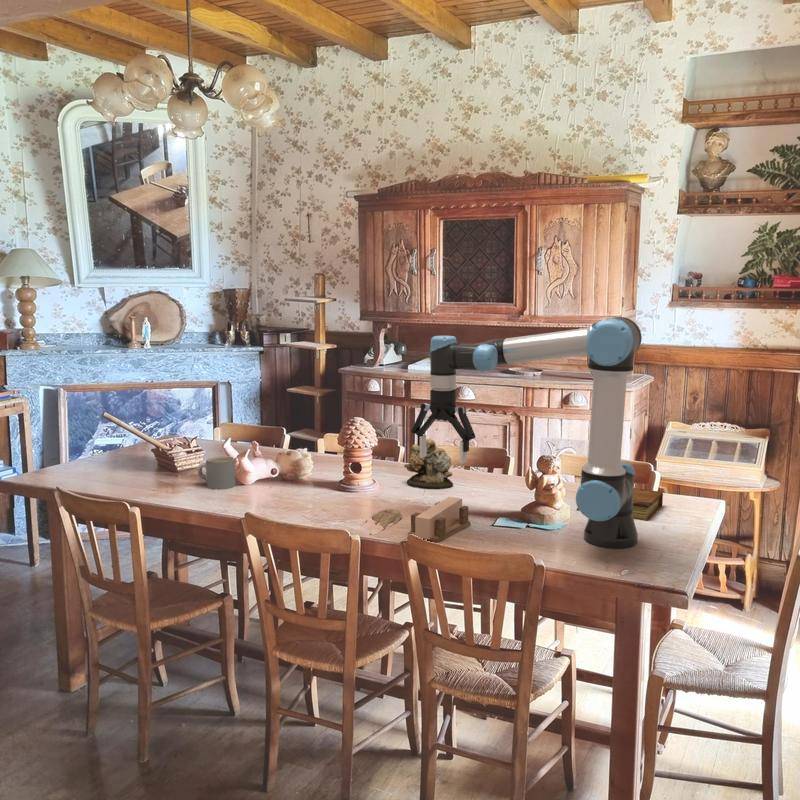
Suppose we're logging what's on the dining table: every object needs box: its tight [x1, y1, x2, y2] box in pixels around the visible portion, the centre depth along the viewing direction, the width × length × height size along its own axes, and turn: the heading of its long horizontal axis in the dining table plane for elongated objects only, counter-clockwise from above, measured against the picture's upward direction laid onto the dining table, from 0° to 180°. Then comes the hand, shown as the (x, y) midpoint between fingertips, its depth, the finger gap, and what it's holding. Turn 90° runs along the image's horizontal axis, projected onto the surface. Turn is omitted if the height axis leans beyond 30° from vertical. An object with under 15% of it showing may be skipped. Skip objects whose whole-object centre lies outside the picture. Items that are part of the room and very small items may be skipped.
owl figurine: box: [403, 438, 454, 490], centre depth 302 cm, size 18×12×17 cm, turn 76°
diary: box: [576, 487, 664, 522], centre depth 274 cm, size 23×19×6 cm
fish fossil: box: [370, 508, 402, 529], centre depth 259 cm, size 26×10×1 cm, turn 169°
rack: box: [407, 501, 471, 543], centre depth 251 cm, size 10×20×6 cm, turn 147°
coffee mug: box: [197, 455, 236, 490], centre depth 302 cm, size 13×10×10 cm
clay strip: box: [415, 496, 463, 539], centre depth 250 cm, size 4×24×6 cm, turn 153°
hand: (442, 459), depth 248 cm, fingers open, 13 cm apart
